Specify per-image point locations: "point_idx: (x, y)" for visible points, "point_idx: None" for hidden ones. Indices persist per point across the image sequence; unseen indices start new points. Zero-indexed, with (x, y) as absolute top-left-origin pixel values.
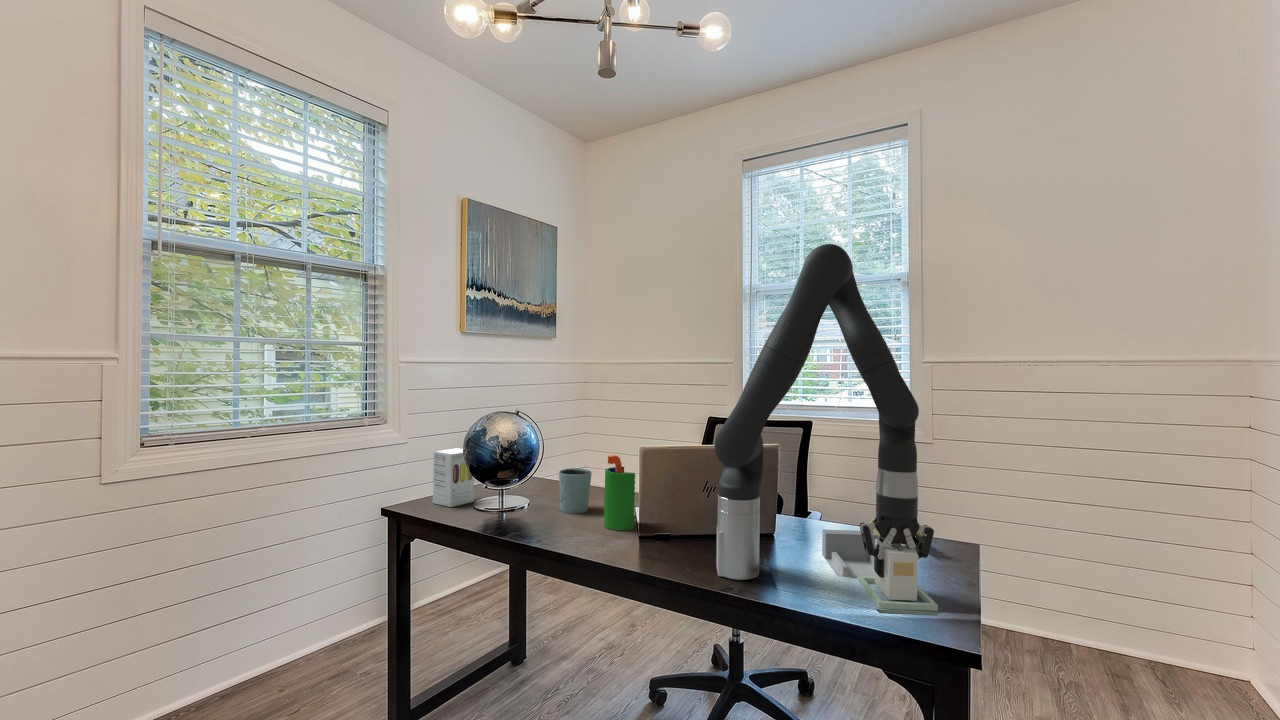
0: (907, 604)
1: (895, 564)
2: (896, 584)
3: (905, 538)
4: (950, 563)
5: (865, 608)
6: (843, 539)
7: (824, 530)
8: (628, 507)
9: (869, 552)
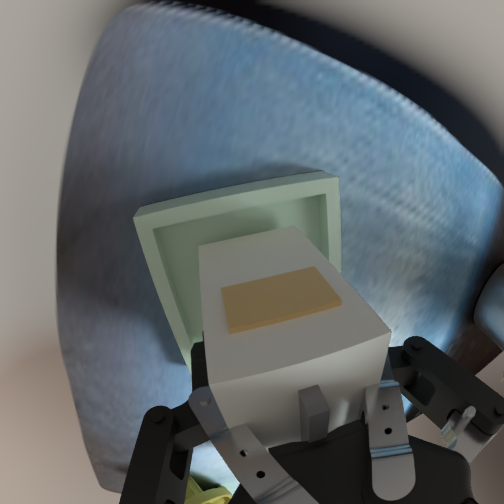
0: (242, 191)
1: (331, 295)
2: (287, 252)
3: (288, 475)
4: (115, 458)
5: (352, 196)
6: None
7: None
8: None
9: (424, 343)
